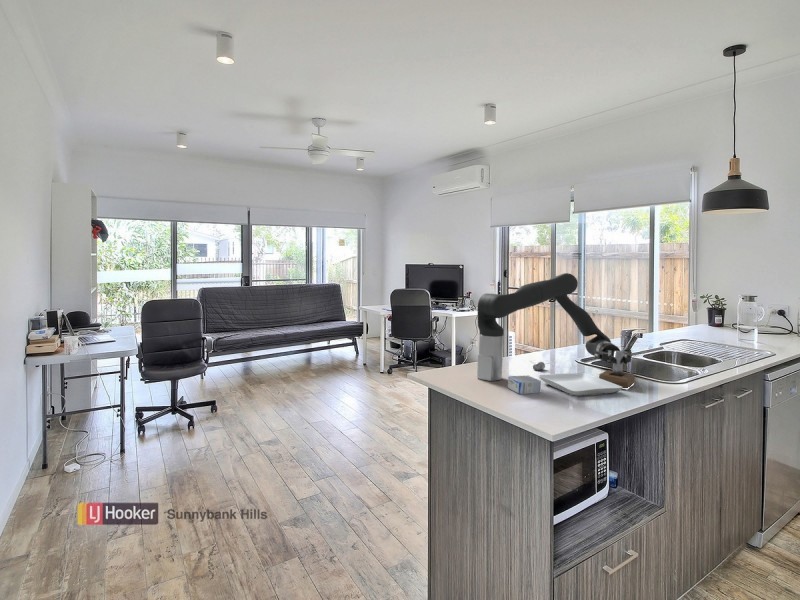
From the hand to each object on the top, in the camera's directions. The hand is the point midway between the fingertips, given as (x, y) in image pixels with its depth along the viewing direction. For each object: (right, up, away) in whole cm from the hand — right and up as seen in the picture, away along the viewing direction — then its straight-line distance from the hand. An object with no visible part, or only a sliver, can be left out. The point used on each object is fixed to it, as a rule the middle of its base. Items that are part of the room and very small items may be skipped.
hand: (620, 360), depth 168 cm
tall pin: (0, -10, +4) cm, 11 cm away
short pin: (-24, -6, +24) cm, 34 cm away
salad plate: (-16, -10, -2) cm, 20 cm away
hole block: (0, -10, +4) cm, 10 cm away
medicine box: (-33, -8, -5) cm, 34 cm away
